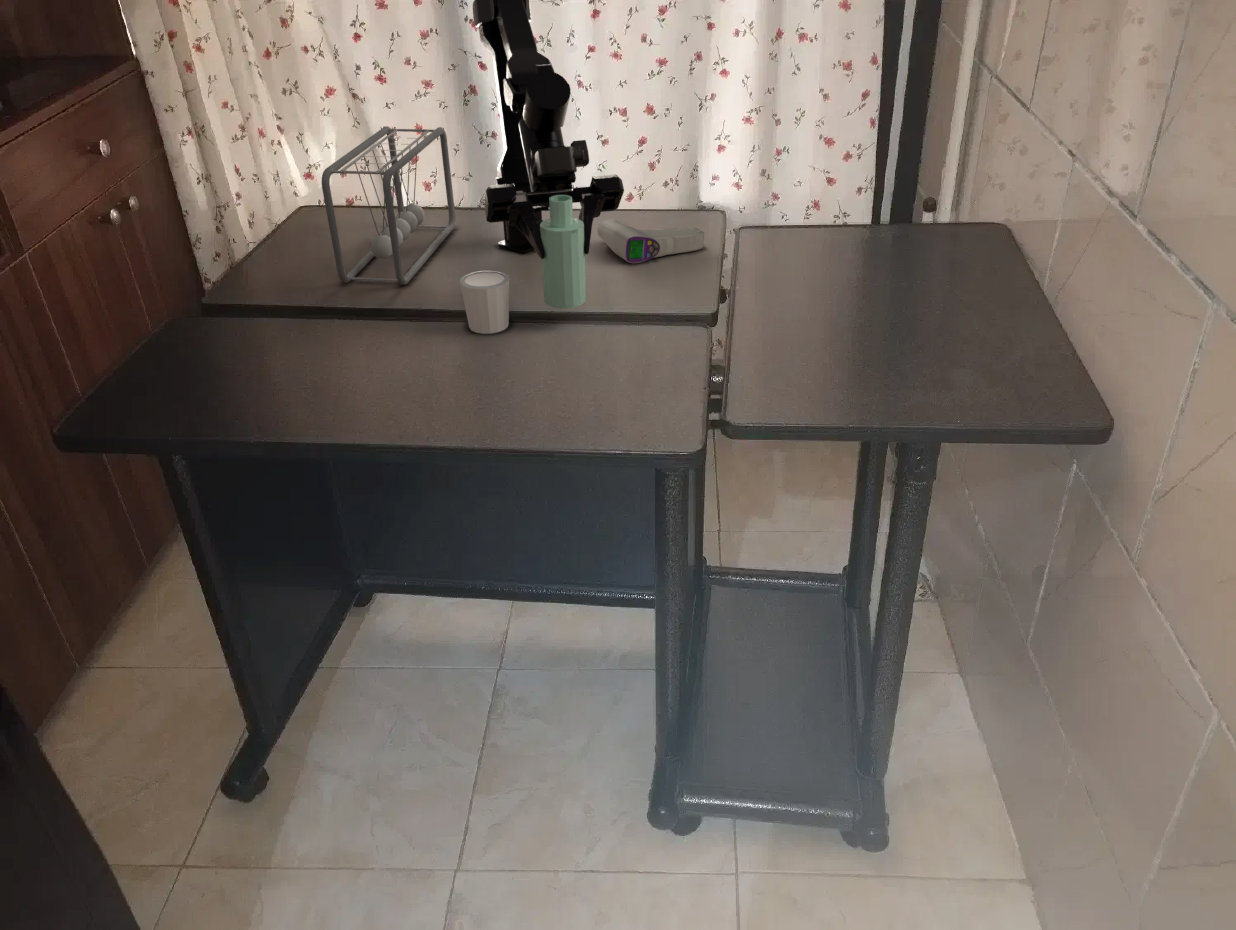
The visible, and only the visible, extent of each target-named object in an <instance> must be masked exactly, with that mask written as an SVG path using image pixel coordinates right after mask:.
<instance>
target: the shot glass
mask: <svg viewBox="0 0 1236 930" xmlns="http://www.w3.org/2000/svg"><path fill="white" fill-rule="evenodd" d="M459 285H460V291H461V294H462V295H461V296H462V300H463V305H464V309H465V314H466V319H467V325H468V328H469V329H470V331H471V332H474V333H477V334H483V335H485V334H486V335H488V334H489V335H492V334H496V333H500V332H503V331H505V330H506V329H508V328H509V325H510V276H509V275H508V274H507V273H505V272H502V271H497V270H479V271H472V272H470V273H468V274H465V275H463V276H462V277H460V280H459Z"/></svg>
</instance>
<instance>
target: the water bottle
mask: <svg viewBox="0 0 1236 930" xmlns="http://www.w3.org/2000/svg"><path fill="white" fill-rule="evenodd" d="M549 205H550V207H549V218H547V219H544V220H543V222H541V224H540V236H541V240H542V243H543V248H544V254H545V257H544V259H541V269H542V284H543V298H544V304H546V305H547V306H549V307H551V308H554V309H573V308H577V307H580V306H582V305H584V304H585V303H586V301H587V285H586V284H587V283H586V282H587V281H586V280H587V279H586V277H587V276H586V254H585V250H584V223H583V222H582V221H581V220H579V218H576V217H574V213H573V211H574V210H573V203H572V197H571V196H568V195H555V196H552V197H550V198H549Z"/></svg>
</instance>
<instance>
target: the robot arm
mask: <svg viewBox="0 0 1236 930" xmlns="http://www.w3.org/2000/svg"><path fill="white" fill-rule="evenodd" d="M472 18H473V25H474V27H475V28H478V35H479V40H480V42H481V44H482V45H483V46H484V47H485V49H486V51H488V53H489V54H490V55H491V58H492V64H493V65H492V66H493V72H494V81H495V88H496V96H497V103H498V105H497V106H498V112H499V121H500V126H501V127H500V128H501V135H502V143H503V153H502V156H501V158H500V160H499V163H498V166H497V168H496V174H497V177H495V179H494V184H492V185H488V186H487V188H486V189H485V192H484V193H485V194H484V214H485V219H486V222H488V223H490V224H492V223H501V222H502V225H503V226H502V227H503V237H504V238H503V239H504V240H500V241H498V243H497V246H499V247H502V248H505V249H508V250H512V251H516V252H519V253H522V254H526V253H527V254H528V253H529V252H531V251H535V253H536V254H537V256H538V257H539V258H540V260H542V259H544V257H545V254H544V248H543V243H542V240H541V236H540V224H541V222H543V221H544V220H543V212H544V211H545V212H547V211H549V212H550V205H549V198H550V197H552V196H555V195H568V196H571V197H572V204H575V203H579V205H580V211H579V215H578V219H579V220H581V221H582V222H583V223H584V250H585V255H588V254H589V252H590V245H591V238H592V230H593V229H592V228H593V222H594V219H595V218H599V217H600V216H601V213H604V212H613V211H617V209H619V206H620V204H621V201H622V198H623V196H624V192H625V188H624V187H625V186H624V182H623V180H622V178H621V177H620V176H619V175H617V174H615V173H614V174H605V175H604V174H603V175H592V177H591V180H590V184H589V186H581V187H573V183H574V184H575V183H576V180H577V177H576V173H577V172H578V168H582V167H587V166H588V165H589V164H590V154H589V149H588V144H587V140H586V139H583V140H582V139H580V140H573V141H571V143H570V145H569V146H566V145H565V142H564V141H565V140H564V137H563V132H562V127H563V126H564V125H565V121H566V118H567V117H566V116H567V112H568V107H569V103H570V98H571V91H572V90H571V85H570V84H569V82H568V80H567V79H565V77H564V76H563V75H561V74H559V73H557V72H555V70H554V69H555V68H554V67H553V65H552V62H551V59H549V57H546V56H545V55H543V54H541V53H540V52H539V49H538V47H537V46H538V45H537V43H536V40H535V35H534V33H533V29H532V26H531V22H532V13H531V3H530V0H473V2H472Z"/></svg>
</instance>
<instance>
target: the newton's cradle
mask: <svg viewBox="0 0 1236 930" xmlns="http://www.w3.org/2000/svg"><path fill="white" fill-rule="evenodd" d="M397 132H408V133H409V132H411V133H413V132H414V133H421V134H420V135H419V136H418V137H408V139H410V140H411V139H412V140H413V139H414V140H413V141H412V142H411V143H402V145H403V146H404V145H407V146H406V147H404V148H403V149H397V145H396V140H395V139H396V138H395V133H397ZM428 133H429V134H428ZM427 134H428V135H427ZM426 135H427V136H426ZM424 137H425V138H424ZM438 137H439V139H440V148H441V150H440V151H441V157H442V167H443V175H444V176H443V177H444V186H445V193H446V201H447V211H448V223H447V225H429V224H428V225H427V224H426V225H425V224H424V225H423V222H424V220H425V210H424V209H423V208H422V206H420V205H419V204H416V203H415V202H416V201H415V200H416V183H417V163H418V155H419V154H420V153H421V152H422V151H424V150H425V149H426V148H427V147H428V146H429V145H430V144H431V143H432V142H434V141H435V140H436V139H437V138H438ZM421 139H422V140H421ZM420 140H421V141H420ZM385 141H387V144H388V149H384V147H383V145H384V143H385ZM419 141H420V142H419ZM415 144H416V145H415ZM414 145H415V146H414ZM378 146H380V147H381V151H382V153H383V156H382V155H381V156H380V155H379V156H377V155H376V154H375V149H376V148H377V147H378ZM413 146H414V147H413ZM386 151H388V152H389V159H390V160H388V159H387V156H386V153H385V152H386ZM370 152H372V154H373V155H368V154H369V153H370ZM404 153H405V154H404ZM449 153H450V152H449V144H448V138H447V133H446V130H445V128H443V127H442V126H438V127H436V128H435V129H431V128H429V129H427V128H426V129H420V128H391V127H390V126H388V125H386V126H383V127H382V128H380V129H379V130H378V131H376V132H375V133H373V134H372V135H371V136H369V137H368V138H366V139H365V140H364V141H362V142H361V143H360V144H358V145H357V146H355V147H354V148H352V149H351V150H350V151H349V152H346V153H345V154H344V155H342V156H341V157H340V158H339V159H337V160H336V161H334V162H333V163H331V164H330V165H329V166H327V167H326V168H325V169H324V170H323V172H322V174H321V190H322V195H323V200H324V207H325V212H326V216H327V222H328V226H329V228H328V229H329V234H330V240H331V244H332V249H333V255H334V260H335V266H336V271H337V275H338V278H339V280H340V281H341V282H342V283H344V284H348V283H350V282H351V281H367V282H368V281H370V282H392V283H393V282H394V283H395V282H396V283H397V282H398V284H399V285H402V286H406V285H407V284H408V283H409V282H410V281H411V280H412V278H413V277H414V276H416V274H417V273H418V272H419V270H420V269H421V268H422V267H423V265H424V264H425V263H426V262H427V261H428V259H429V258H431V256H432V255H433V253H435V252H436V251H437V249H439V247H440V246H441V244H442V243H443V242H444V241H445V239H447V237H448V236H449V235H450V234H451V232H452V231H453V230H454V228H455V226H456V210H455V200H454V191H453V190H454V189H453V182H452V181H453V180H452V173H451V163H450V154H449ZM399 157H400V158H399ZM362 158H363V159H364V162H358V161H360V160H361V159H362ZM366 158H374V159H375V160H374V161H375V162H367V159H366ZM377 158H384V159H385V163H383V162H382V163H380V162H379V163H378V160H377ZM398 158H399V159H398ZM414 158H415V168H414V187H413V189H414V190H413V202H410V198H409V186H410V168H411V161H412V160H413V159H414ZM358 164H364V165H366V168H367V170H359V168H358V166H357V165H358ZM407 164H408V173H407V189H406V185H405V183H404V179H403V167H405V166H406V165H407ZM353 165H354V166H355V168H356V170H348V169H349V168H350V167H352V166H353ZM369 165H377V169H378V170H375V171H373V170H370V168H369ZM379 165H382V166H381V167H380V166H379ZM389 165H391V166H389ZM384 170H385V171H384ZM333 174H342V175H343V174H345V175H346V174H349V175H352V174H353V175H358V178H359V181H360V184H361V186H362V191H363V193H364V196H365V199H366V202H367V205H368V208H369V211H370V215H371V217H372V220H373V223H374V227H375V229H376V233H377V235H376V236H374V237H373V238H372V239H371V242H370V245H369V246H370V250H369V251H368V252H367V253H366V254H365V255H364V256H363V257H362V258H361V259H360V260H359V261H358V262H357V263H356V264H355V265H354V266H353V267H352V268H351V269H349V271H348V272H347V273H346V269H345V263H344V259H343V252H342V247H341V242H340V236H339V230H338V223H337V219H336V214H335V208H334V202H333V197H332V191H331V185H330V179H331V176H332V175H333ZM361 175H369V177H370V180H371V182H372V185H373V188H374V192H375V195H376V198H377V201H378V203H379V207H380V209H381V212H382V216H383V217H382V229H381V230H380V233H379V230H378V227H377V224H376V221H375V217H374V215H373V212H372V209H371V205H370V202H369V200H368V196H367V193H366V189H365V187H364V184H363V181H362V179H361V178H362V177H361ZM372 175H379V176H380V178H381V181H382V191H383V206H382V204H381V201H380V198H379V194H378V192H377V189H376V186H375V183H374V180H373V177H372ZM391 181H392V183H391ZM402 185H403V188H404V191H405V195H406V206H405V205H404V197H403V189H402ZM394 193H395V194H394ZM394 195H395V196H394ZM394 197H395V198H396V206H397V215H396V214H395V206H394ZM385 211H386V216H385ZM386 217H387V219H386ZM385 224H386V227H385ZM417 228H421V229H422V228H423V229H425V228H426V229H443V230H442V231H441V232H440V233H439V234H438V236H437V237H436V238H435V239H434V240H433V241H432V243H430V245H429V246H428V247H427V248H426V250H425V251H424V252H423V253H422V254H421V256H419V258H418V259H417V260H416V261H415V262H414V263H413V264H412V266H411V267H410V268H409V269H408V271H407V272H406V273H405V274H404V269H403V264H402V256H401V250H400V249H401V248H400V247H401V246H402V244H403V242H404V241H407V240H408V239H409V237H410V235H411V234H412V233H414V232H415V231H416V230H417ZM391 256H392V257H393V258H392V259H393V264H394V273H395V278H380V277H379V278H378V277H377V278H376V277H357V275H358V274H359V273H360V272H361V271H362V270H363V269H364V268H365V267H366V266H367V265H368V264H369V263H370V262H371V261H372V259H373V258H377V259H381V260H385V259H386V260H387V259H389V258H390V257H391Z"/></svg>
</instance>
